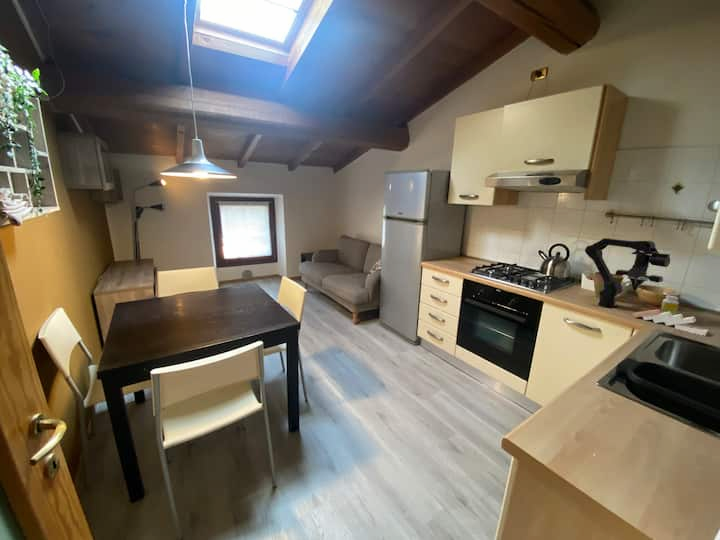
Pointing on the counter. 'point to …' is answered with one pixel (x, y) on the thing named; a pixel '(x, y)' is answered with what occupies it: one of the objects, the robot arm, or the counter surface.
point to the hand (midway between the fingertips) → (634, 290)
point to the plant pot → (600, 283)
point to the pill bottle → (669, 304)
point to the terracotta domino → (646, 313)
